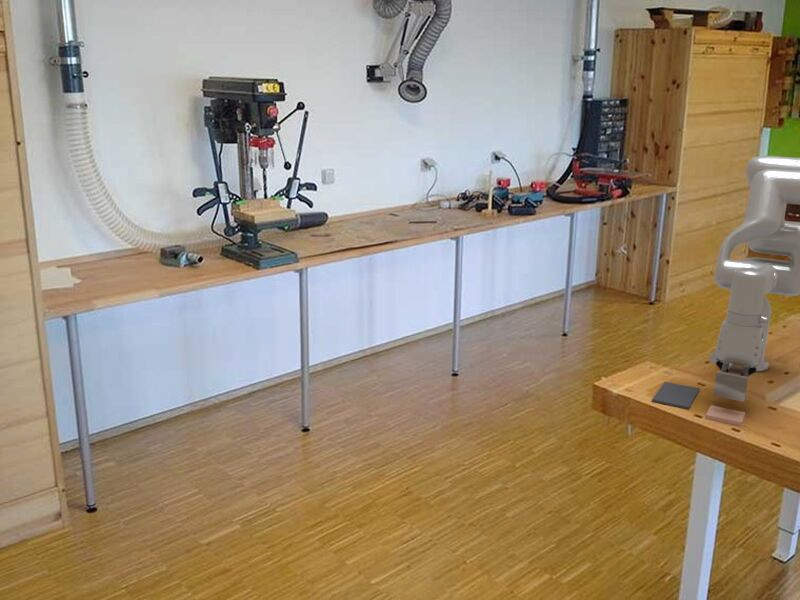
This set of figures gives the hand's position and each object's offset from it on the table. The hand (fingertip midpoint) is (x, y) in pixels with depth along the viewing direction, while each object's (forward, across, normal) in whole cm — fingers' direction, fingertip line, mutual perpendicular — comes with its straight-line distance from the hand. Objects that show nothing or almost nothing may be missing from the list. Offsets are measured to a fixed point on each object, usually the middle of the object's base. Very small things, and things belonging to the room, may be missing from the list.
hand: (732, 388), depth 196 cm
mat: (+5, +13, +1) cm, 14 cm away
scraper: (0, 0, 0) cm, 0 cm away
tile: (+5, 0, +5) cm, 7 cm away
